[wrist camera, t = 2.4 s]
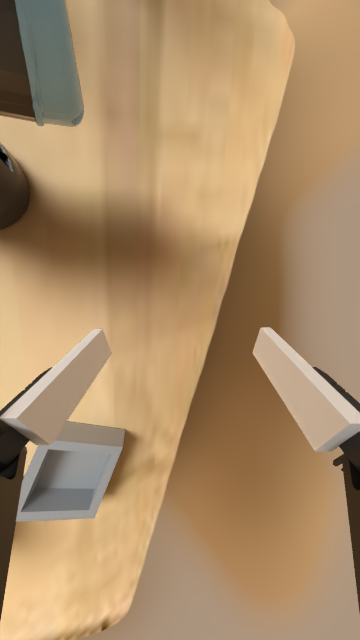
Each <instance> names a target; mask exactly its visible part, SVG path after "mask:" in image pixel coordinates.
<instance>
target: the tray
mask: <svg viewBox="0 0 360 640" xmlns="http://www.w3.org/2000/svg"><path fill="white" fill-rule="evenodd" d="M124 435H125V429H119V428H112V427H105V426H97V425H90V424H83V423H76V422H69V421H66V423H65V424H64V426H63V427H62V429H61V431H60V432H59V434H58V435H57V437H56V438H55V440H54V441H53V443H52V444H51V445H38V447H37V450H36V452H35V454H34V456H33V459H32V461H31V463H30V465H29V468H28V470H27V472H26V474H25V477H24V479H23V481H22V486H21V492H20V498H19V505H18V511H17V518H16V522H25V521H46V520H67V519H87V518H95V515H96V513H97V510H98V508H99V505H100V503H101V500H102V498H103V496H104V493H105V491H106V488H107V486H108V483H109V481H110V478H111V476H112V473H113V471H114V468H115V466H116V463H117V461H118V458H119V456H120V453H121V451H122V448H123V443H124Z"/></svg>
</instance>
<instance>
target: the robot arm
mask: <svg viewBox="0 0 360 640" xmlns="http://www.w3.org/2000/svg"><path fill="white" fill-rule="evenodd" d="M83 114H84V105H83V98H82V93H81V87H80V81H79V76H78V70H77V64H76V59H75V53H74V48H73V42H72V36H71V31H70V25H69V20H68V14H67V9H66V3H65V0H0V116H5V117H11V118H16V119H21V120H27V121H32V122H36V123H37V125H38V126H44V124H45V123H46V124H54V125H62V126H70V127H74V126H77V125H79V124H80V122H81V121H82V118H83ZM28 202H29V187H28V183H27V180H26V177H25V175H24V173H23V171H22V169H21V168H20V166H19V165H18V163H17V162H16V161H15V159H14V158H13V157H12V156H11V155H10V153H9V152H8V151H7V150H6V149H5V147H4V146H3V145H2V144H1V143H0V229H2V228H5V227H7V226H9V225H11V224H13V223H14V222H16V221H17V220H18V219H19V218H20V217H21V216H22V215H23V213H24V212H25V210H26V208H27V205H28ZM111 354H112V352H111V350H110V347H109V344H108V342H107V339H106V337H105V334H104V331H103V329H93V330H92V331H91V332H90V333H89V334H88V335H87V336H86V337H85V338H84V339H83V340H81V341H80V342H79V343H78V344H77V345H76V346H75V347H74V348H73V349H72V350H71V351H70V352H69V353H68V354H67V355H65V356H64V357H63V358H62V359H61V360H60V361H59V362H58V363H57V364H56V365H55V366H54V367H51V368H49V369H48V370H46V371H45V372H43V373H42V374H40V375H39V376H38V377H37V378H36V379H35V380H34V381H33V382H32V383H30V384H29V385H28V386H27V387H26V388H25V390H23V391H22V392H21V393H19V394H18V395H17V396H16V397H15V398H14V399H13V400H12V401H11V402H9V403H8V404H7V405H6V406H5V407H4V408H3V409H2V410H1V411H0V619H1V613H2V607H3V600H4V594H5V588H6V581H7V575H8V568H9V562H10V556H11V549H12V543H13V537H14V530H15V524H16V518H17V511H18V505H19V498H20V492H21V486H22V479H23V473H24V467H25V460H26V454H27V449H26V447H25V445H26V444H27V443H28V441H29V440H30V441H31V442H33V443H34V444H36V445H51V444H52V443H53V441H54V440H55V438H56V437H57V435H58V434H59V432H60V431H61V429H62V427H63V426H64V424H65V423H66V421H67V420H68V418H69V417H70V415H71V414H72V412H73V411H74V409H75V408H76V406H77V405H78V403H79V402H80V400H81V399H82V397H83V396H84V394H85V393H86V391H87V390H88V388H89V387H90V385H91V384H92V382H93V381H94V379H95V378H96V376H97V375H98V373H99V372H100V370H101V369H102V367H103V366H104V364H105V363H106V361H107V360H108V358H109V357H110V355H111ZM253 355H254V356H255V358H256V359H257V361H258V362H259V364H260V365H261V367H262V369H263V370H264V372H265V373H266V375H267V376H268V378H269V380H270V381H271V383H272V384H273V386H274V387H275V389H276V391H277V392H278V394H279V395H280V397H281V399H282V400H283V402H284V403H285V405H286V406H287V408H288V410H289V411H290V413H291V414H292V416H293V417H294V419H295V420H296V422H297V424H298V425H299V427H300V428H301V430H302V432H303V433H304V435H305V436H306V438H307V439H308V441H309V443H310V444H311V446H312V447H313V449H314V450H315V451H333V450H334V449H336V448H337V447H340V448H341V449H342V451H343V452H344V454H343V455H342V456H340V457H338V458H336V459H335V460H334V461H333V465H334V466H338V465H340V464H343V468H342V469H341V470H342V471H343V472H344V481H345V490H346V498H347V507H348V516H349V525H350V533H351V541H352V551H353V559H354V568H355V577H356V585H357V594H358V602H359V611H360V403H359V402H357V401H356V400H355V399H354V398H353V397H352V396H351V395H350V394H349V393H347V392H345V390H344V389H343V388H342V387H341V386H339V385H337V383H336V382H335V381H334V380H333V379H332V378H331V377H330V376H329V375H327V374H326V373H324V372H323V371H321V370H320V369H318V368H316V367H311V366H310V365H309V364H308V363H307V362H306V361H305V360H304V359H303V358H302V357H301V356H300V355H299V354H298V353H297V352H296V351H294V350H293V349H292V348H291V347H290V346H289V345H288V344H287V343H286V342H285V341H284V340H283V339H282V338H281V337H280V336H279V335H278V334H277V333H276V332H275V331H274V330H272V329H271V328H270V327H269V328H268V327H265V328H261V329H260V331H259V334H258V337H257V341H256V343H255V346H254V350H253Z"/></svg>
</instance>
